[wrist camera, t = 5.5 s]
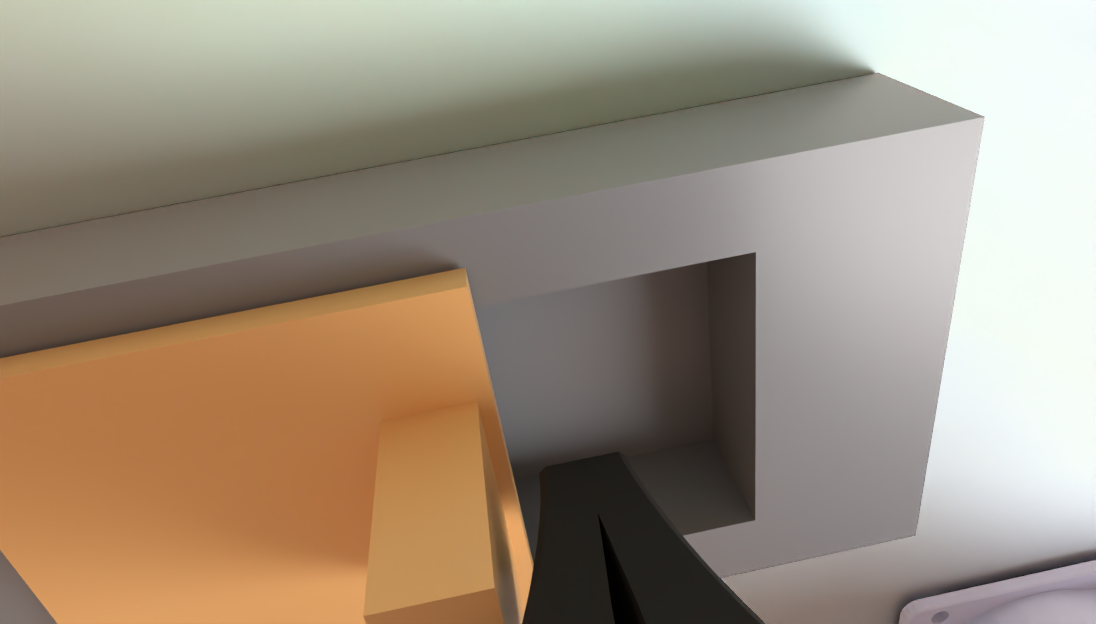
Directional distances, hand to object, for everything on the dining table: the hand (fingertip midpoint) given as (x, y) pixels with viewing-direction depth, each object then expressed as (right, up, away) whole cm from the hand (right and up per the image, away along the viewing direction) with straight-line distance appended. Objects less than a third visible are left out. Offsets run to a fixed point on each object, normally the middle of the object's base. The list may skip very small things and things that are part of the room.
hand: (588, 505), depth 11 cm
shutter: (-5, 0, +1) cm, 5 cm away
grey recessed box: (-4, +2, +4) cm, 6 cm away
